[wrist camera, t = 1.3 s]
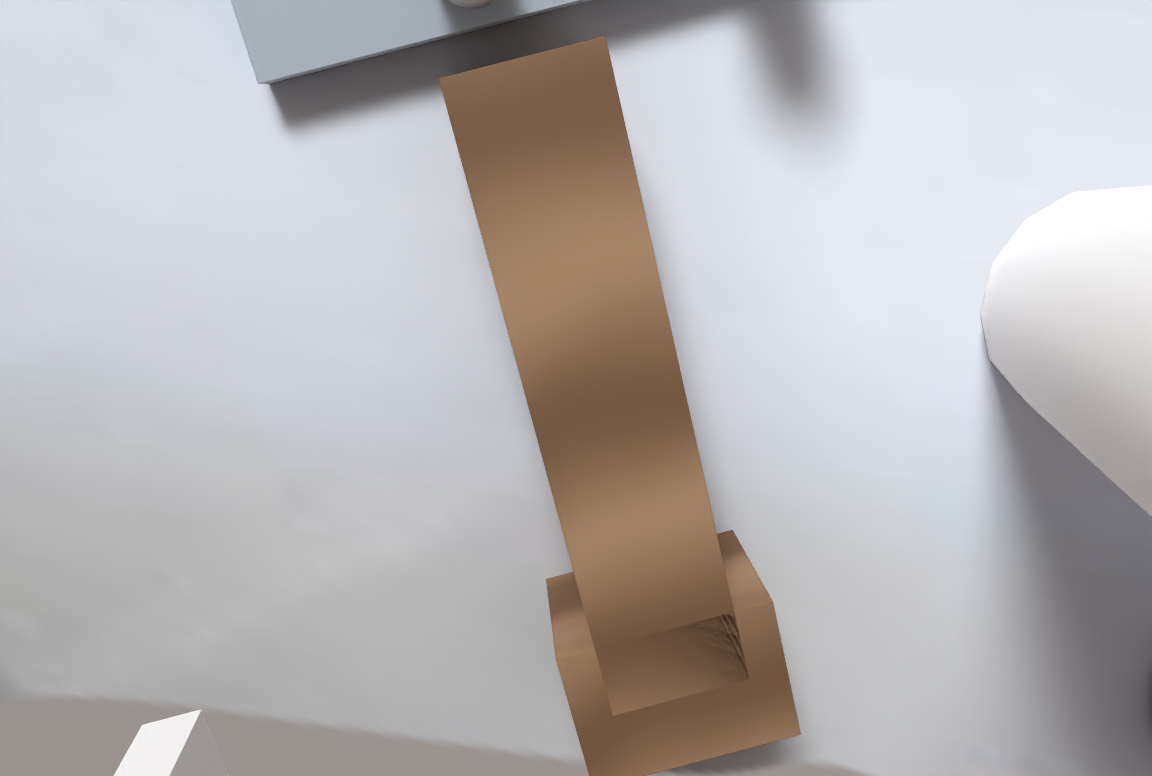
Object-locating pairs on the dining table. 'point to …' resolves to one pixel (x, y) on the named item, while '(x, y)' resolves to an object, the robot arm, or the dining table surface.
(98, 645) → the dining table surface
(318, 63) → the rack
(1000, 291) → the foam cup
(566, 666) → the wooden toy mallet
